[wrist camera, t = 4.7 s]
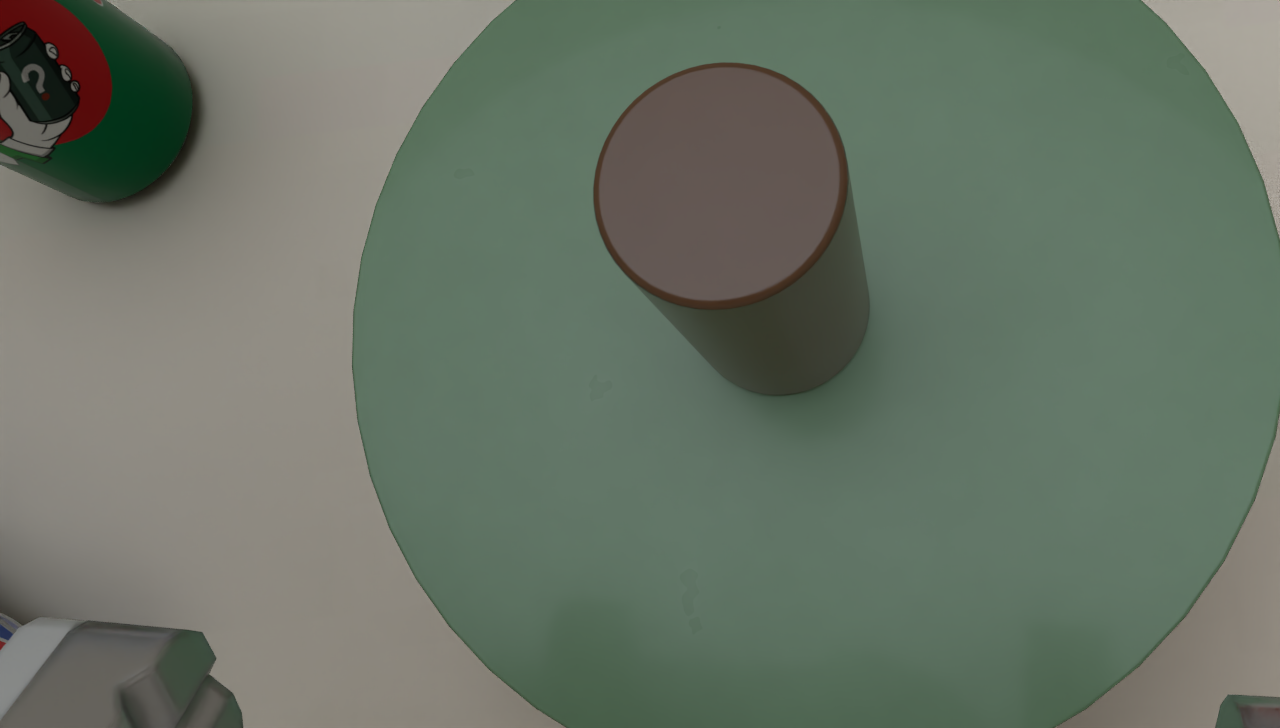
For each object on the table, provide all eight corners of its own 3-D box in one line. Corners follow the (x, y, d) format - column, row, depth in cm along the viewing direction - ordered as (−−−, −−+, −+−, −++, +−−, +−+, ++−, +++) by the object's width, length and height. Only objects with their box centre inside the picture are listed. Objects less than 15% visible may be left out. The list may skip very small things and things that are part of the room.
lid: (349, 745, 19) (41, 834, 12) (415, -47, 21) (185, -336, 15) (1287, 823, 16) (1556, 997, 9) (1244, -112, 18) (1435, -515, 12)
